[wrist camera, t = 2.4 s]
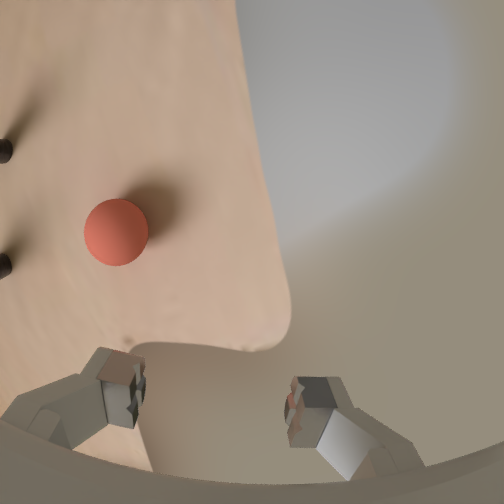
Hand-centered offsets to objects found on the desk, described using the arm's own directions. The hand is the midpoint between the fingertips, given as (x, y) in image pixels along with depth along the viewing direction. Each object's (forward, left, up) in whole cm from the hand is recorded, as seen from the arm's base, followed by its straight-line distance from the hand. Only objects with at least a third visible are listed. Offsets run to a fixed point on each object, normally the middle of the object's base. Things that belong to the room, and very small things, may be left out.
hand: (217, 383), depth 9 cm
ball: (0, -10, -16) cm, 19 cm away
